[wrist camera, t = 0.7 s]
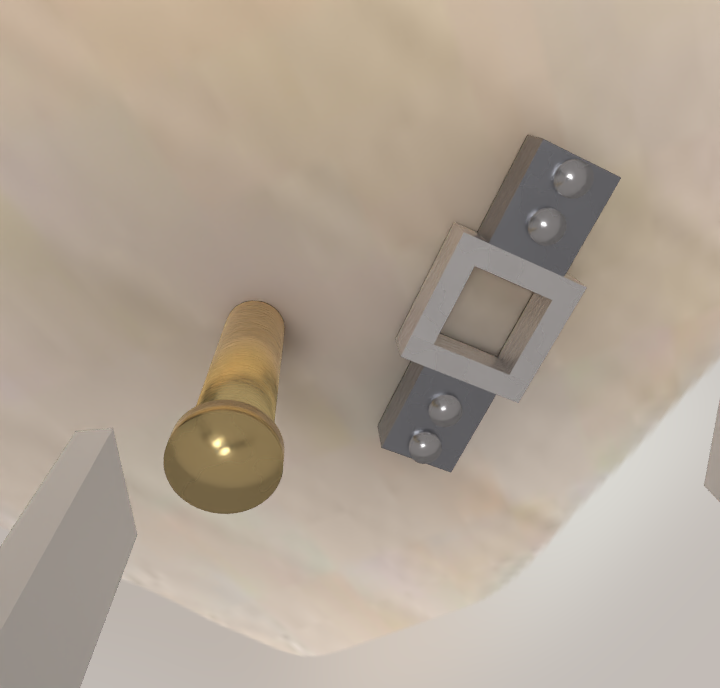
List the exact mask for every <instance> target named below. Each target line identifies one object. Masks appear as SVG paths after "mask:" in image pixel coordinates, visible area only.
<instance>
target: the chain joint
mask: <svg viewBox="0 0 720 688" xmlns="http://www.w3.org/2000/svg"><path fill="white" fill-rule="evenodd" d="M620 179H621V177H619V176H617V175H615V174H613V173H611V172H609V171H607V170H605V169H603V168H601V167H599V166H597V165H595V164H592V163H590V162H588V161H586V160H584V159H582V158H580V157H578V156H576V155H574V154H572V153H570V152H568V151H566V150H564V149H562V148H560V147H558V146H556V145H554V144H552V143H550V142H548V141H546V140H544V139H541V138H538V137H534V136H531V135H527V137H526V139H525V141H524V143H523V145H522V147H521V149H520V151H519V153H518V155H517V157H516V159H515V161H514V163H513V164H512V166H511V168H510V170H509V172H508V174H507V176H506V178H505V180H504V182H503V184H502V186H501V188H500V190H499V192H498V194H497V195H496V197H495V199H494V201H493V203H492V205H491V207H490V209H489V211H488V213H487V215H486V217H485V219H484V221H483V223H482V225H481V227H480V228H479V230H478V232H475V231H473V230H471V229H469V228H466V227H464V226H462V225H460V224H457V223H455V222H454V223H453V225H452V227H451V229H450V231H449V233H448V235H447V237H446V239H445V241H444V243H443V245H442V247H441V249H440V251H439V253H438V255H437V257H436V259H435V261H434V263H433V265H432V267H431V269H430V271H429V273H428V275H427V277H426V279H425V281H424V283H423V285H422V287H421V289H420V291H419V293H418V295H417V297H416V299H415V301H414V303H413V305H412V307H411V309H410V311H409V313H408V315H407V317H406V319H405V321H404V323H403V325H402V327H401V329H400V331H399V333H398V335H397V337H396V339H395V340H396V343H397V346H398V350H399V353H400V356H401V357H403V358H405V359H408V360H410V361H411V362H410V364H409V366H408V368H407V370H406V372H405V374H404V376H403V378H402V380H401V382H400V384H399V386H398V388H397V390H396V391H395V393H394V395H393V397H392V399H391V401H390V403H389V405H388V407H387V409H386V411H385V413H384V415H383V417H382V419H381V421H380V422H379V424H378V431H379V437H380V442H381V448H384V449H387V450H390V451H392V452H395V453H398V454H401V455H404V456H406V457H409V458H412V459H413V460H415V461H416V462H418V463H422V464H429V465H432V466H434V467H437V468H440V469H443V470H446V471H448V472H452V470H453V468H454V466H455V465H456V463H457V461H458V460H459V458H460V456H461V454H462V453H463V451H464V449H465V447H466V446H467V444H468V442H469V440H470V439H471V437H472V435H473V434H474V432H475V430H476V428H477V427H478V425H479V423H480V421H481V420H482V418H483V416H484V414H485V413H486V411H487V409H488V408H489V406H490V404H491V402H492V401H493V399H494V397H495V395H496V394H497V395H499V396H502V397H504V398H507V399H510V400H512V401H515V402H517V403H518V402H519V401H520V399H521V397H522V396H523V394H524V392H525V391H526V389H527V387H528V386H529V384H530V382H531V381H532V379H533V377H534V376H535V374H536V372H537V370H538V369H539V367H540V365H541V364H542V362H543V360H544V359H545V357H546V355H547V354H548V352H549V350H550V349H551V347H552V345H553V343H554V342H555V340H556V338H557V337H558V335H559V333H560V332H561V330H562V328H563V327H564V325H565V323H566V322H567V320H568V318H569V317H570V315H571V313H572V311H573V310H574V308H575V306H576V305H577V303H578V301H579V300H580V298H581V296H582V295H583V293H584V291H585V290H586V288H587V287H586V286H584V285H583V284H582V283H581V282H579V281H578V280H577V279H575V278H574V277H573V276H572V275H570V274H568V273H566V272H567V271H568V269H569V267H570V265H571V264H572V262H573V260H574V258H575V257H576V255H577V253H578V252H579V250H580V248H581V246H582V245H583V243H584V241H585V239H586V238H587V236H588V234H589V232H590V231H591V229H592V227H593V226H594V224H595V222H596V220H597V219H598V217H599V215H600V213H601V212H602V210H603V208H604V206H605V205H606V203H607V201H608V200H609V198H610V196H611V194H612V193H613V191H614V189H615V187H616V186H617V184H618V182H619V180H620ZM474 266H476V267H478V268H480V269H482V270H485V271H487V272H489V273H492V274H494V275H496V276H498V277H501V278H503V279H505V280H508V281H510V282H512V283H514V284H517V285H519V286H521V287H524V288H526V289H528V290H530V291H533V292H534V294H533V295H532V297H531V299H530V301H529V303H528V304H527V306H526V308H525V310H524V311H523V313H522V315H521V317H520V318H519V320H518V322H517V324H516V326H515V327H514V329H513V331H512V333H511V334H510V336H509V338H508V340H507V341H506V343H505V345H504V347H503V349H502V350H501V352H500V354H499V356H498V357H496V356H494V355H491V354H489V353H487V352H484V351H482V350H479V349H477V348H474V347H472V346H469V345H467V344H464V343H462V342H460V341H457V340H455V339H452V338H450V337H447V336H445V335H442V334H440V331H441V329H442V327H443V326H444V324H445V322H446V320H447V318H448V316H449V314H450V312H451V310H452V308H453V306H454V305H455V303H456V301H457V299H458V297H459V295H460V293H461V291H462V289H463V287H464V285H465V284H466V282H467V280H468V278H469V276H470V274H471V272H472V270H473V268H474Z"/></svg>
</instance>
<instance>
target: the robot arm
mask: <svg viewBox="0 0 720 688" xmlns="http://www.w3.org/2000/svg"><path fill="white" fill-rule="evenodd" d="M704 486H705V487H706V488H707V489H708V490H709V491H710V492H711V494H713V496H714V497H715V498H716V499H717V500H718V501H719V502H720V401H719V407H718V412H717V417H716V423H715V428H714V433H713V439H712V444H711V450H710V456H709V461H708V467H707V472H706V478H705V483H704ZM136 537H137V531H136V526H135V522H134V518H133V513H132V509H131V505H130V500H129V496H128V492H127V487H126V483H125V478H124V474H123V470H122V465H121V461H120V457H119V452H118V448H117V444H116V439H115V435H114V430H113V428H110V429H97V430H84V431H76V432H75V433H74V435H73V436H72V438H71V439H70V441H69V442H68V444H67V445H66V447H65V448H64V450H63V451H62V453H61V455H60V456H59V458H58V459H57V461H56V462H55V464H54V465H53V467H52V468H51V470H50V471H49V473H48V474H47V476H46V477H45V479H44V481H43V482H42V484H41V485H40V487H39V488H38V490H37V491H36V493H35V494H34V496H33V497H32V499H31V500H30V502H29V503H28V505H27V507H26V508H25V510H24V511H23V513H22V514H21V516H20V517H19V519H18V520H17V522H16V523H15V525H14V526H13V528H12V529H11V531H10V533H9V534H8V536H7V537H6V539H5V540H4V542H3V543H2V545H1V546H0V688H80V686H81V684H82V681H83V678H84V676H85V673H86V670H87V668H88V665H89V662H90V660H91V657H92V654H93V652H94V649H95V646H96V643H97V641H98V638H99V635H100V633H101V630H102V628H103V625H104V622H105V620H106V617H107V614H108V612H109V609H110V606H111V603H112V601H113V598H114V596H115V593H116V590H117V588H118V585H119V582H120V580H121V577H122V574H123V572H124V569H125V566H126V564H127V561H128V558H129V556H130V553H131V550H132V548H133V545H134V542H135V540H136Z"/></svg>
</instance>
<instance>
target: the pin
mask: <svg viewBox="0 0 720 688" xmlns="http://www.w3.org/2000/svg"><path fill="white" fill-rule="evenodd" d="M284 330H285V328H284V322H283V319H282V317H281V315H280V314H279V312H278V311H277V310H276V309H275V308H274V307H272V306H271V305H269V304H267V303H264V302H260V301H248V302H244V303H242V304H239V305H238V306H236V307H235V308H234V309H233V310H232V311H231V312H230V314H229V315H228V318H227V320H226V323H225V326H224V329H223V332H222V334H221V337H220V340H219V343H218V346H217V349H216V351H215V354H214V357H213V360H212V363H211V365H210V368H209V371H208V374H207V377H206V380H205V382H204V385H203V388H202V391H201V394H200V397H199V399H198V402H197V405H196V407H194V408H192V409H191V410H189V411H188V412H187V413H185V414H184V415H183V416H182V417H181V418H180V419H179V421H178V422H177V424H176V425H175V427H174V429H173V431H172V433H171V436H170V438H169V441H168V443H167V446H166V449H165V453H164V470H165V474H166V477H167V480H168V481H169V483H170V485H171V487H172V488H173V490H174V491H175V492H176V493H177V494H178V495H179V496H180V497H181V498H182V499H183V500H185V501H186V502H188V503H189V504H191V505H193V506H195V507H197V508H199V509H202V510H204V511H208V512H213V513H221V514H230V513H238V512H243V511H246V510H249V509H252V508H254V507H256V506H258V505H259V504H261V503H263V502H264V501H265V500H266V499H268V498H269V497H270V496H271V495H272V493H273V492H274V491H275V489H276V488H277V486H278V484H279V482H280V479H281V477H282V472H283V461H284V443H283V439H282V436H281V433H280V431H279V429H278V427H277V426H276V424H275V423H274V419H275V411H276V402H277V393H278V384H279V375H280V366H281V358H282V349H283V340H284Z"/></svg>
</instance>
